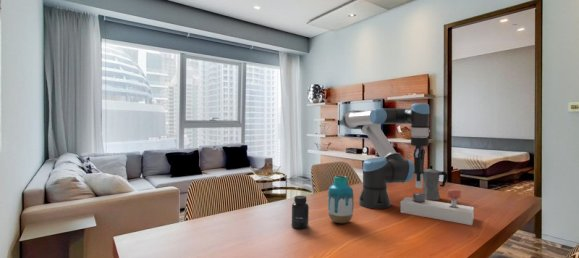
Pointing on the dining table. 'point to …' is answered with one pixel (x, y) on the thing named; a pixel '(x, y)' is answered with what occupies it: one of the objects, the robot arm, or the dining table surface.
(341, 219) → the vase
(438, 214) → the block
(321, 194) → the dining table surface
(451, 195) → the red plunger
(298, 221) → the supplement bottle
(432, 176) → the coffeepot
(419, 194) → the plunger
